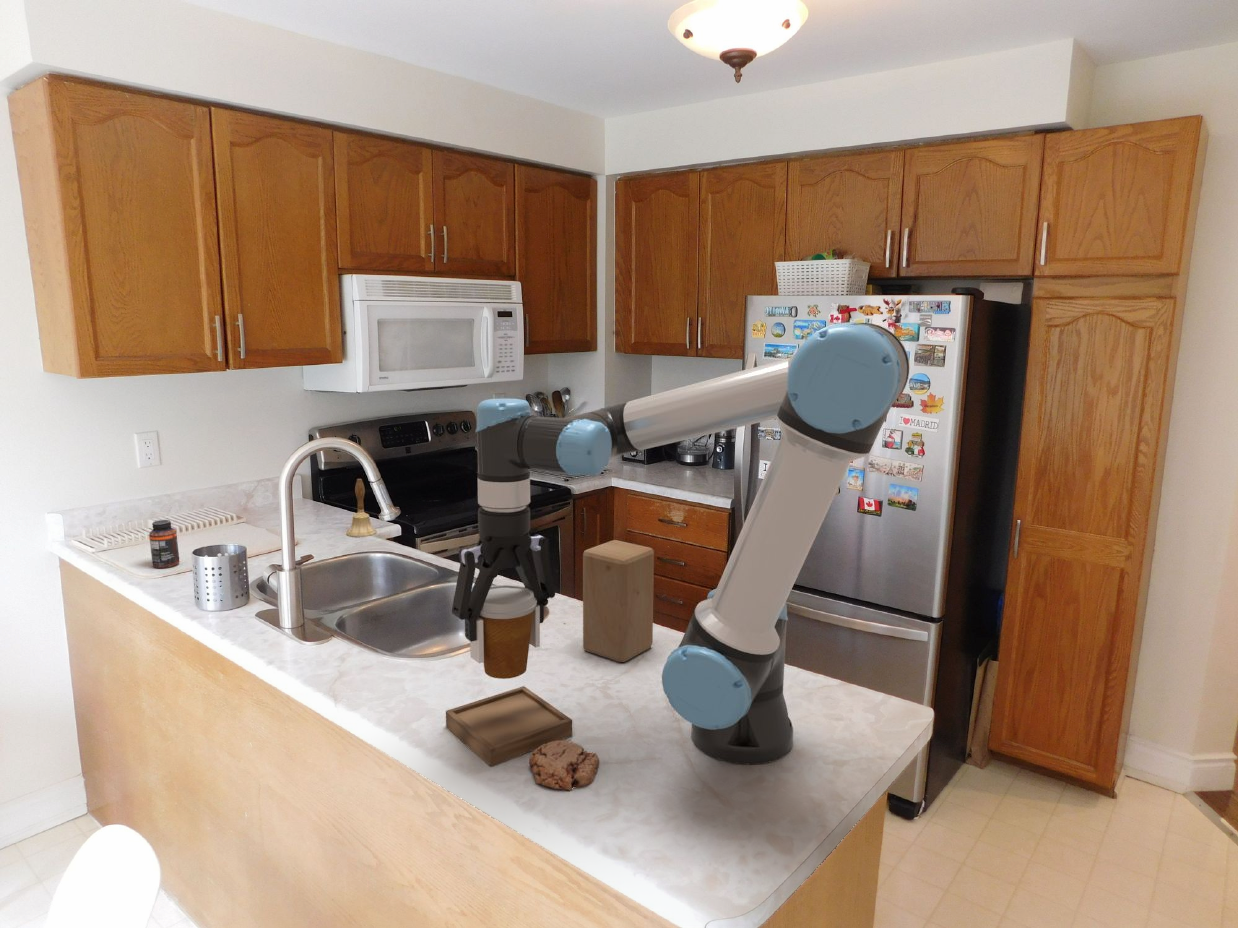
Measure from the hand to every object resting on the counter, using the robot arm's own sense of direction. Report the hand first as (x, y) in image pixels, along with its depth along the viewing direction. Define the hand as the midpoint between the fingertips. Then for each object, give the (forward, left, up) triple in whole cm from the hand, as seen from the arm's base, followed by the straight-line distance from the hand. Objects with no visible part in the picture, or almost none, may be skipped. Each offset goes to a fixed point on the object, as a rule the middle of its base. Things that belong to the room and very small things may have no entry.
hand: (505, 651), depth 122 cm
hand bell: (+122, -23, -13) cm, 125 cm away
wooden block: (+14, -32, -13) cm, 37 cm away
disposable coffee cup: (0, 0, -3) cm, 3 cm away
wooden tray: (0, 0, -13) cm, 13 cm away
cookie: (-14, -1, -13) cm, 20 cm away
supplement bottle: (+122, +27, -13) cm, 125 cm away
